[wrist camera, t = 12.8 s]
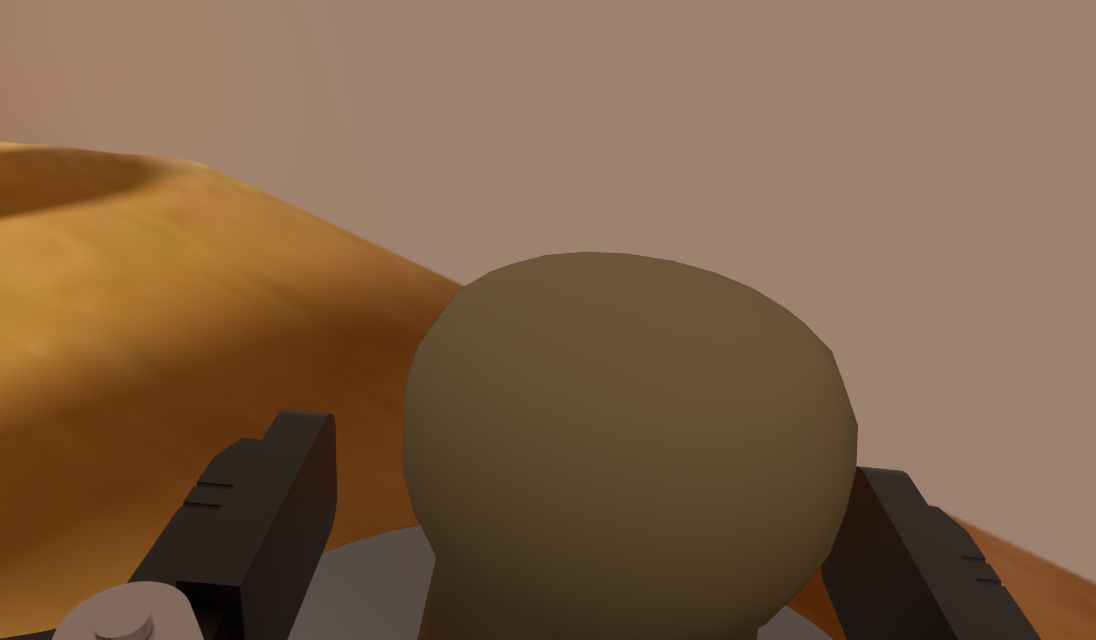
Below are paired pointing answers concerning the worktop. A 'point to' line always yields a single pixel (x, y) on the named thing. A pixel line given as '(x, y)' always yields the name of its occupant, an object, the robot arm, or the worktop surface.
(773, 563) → the cork
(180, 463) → the worktop surface
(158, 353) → the worktop surface
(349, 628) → the slate plate
